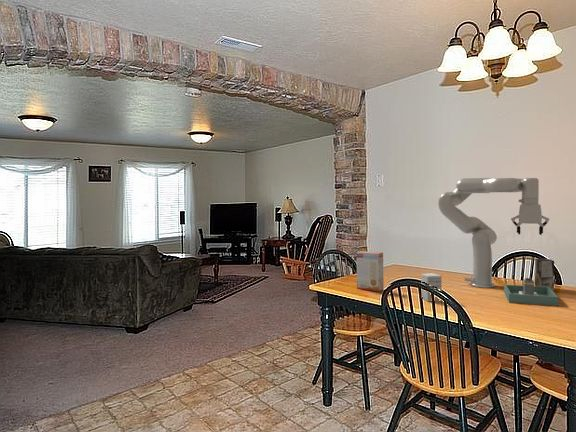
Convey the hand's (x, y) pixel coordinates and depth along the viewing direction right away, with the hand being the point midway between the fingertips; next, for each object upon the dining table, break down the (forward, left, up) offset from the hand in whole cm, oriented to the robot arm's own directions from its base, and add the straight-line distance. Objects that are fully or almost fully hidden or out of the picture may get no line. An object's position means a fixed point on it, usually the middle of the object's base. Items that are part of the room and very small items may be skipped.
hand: (529, 234), depth 214 cm
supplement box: (-47, -34, -30) cm, 65 cm away
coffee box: (+8, +8, -30) cm, 33 cm away
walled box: (-2, -17, -30) cm, 35 cm away
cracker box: (-80, -20, -30) cm, 88 cm away
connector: (-2, -15, -29) cm, 33 cm away
